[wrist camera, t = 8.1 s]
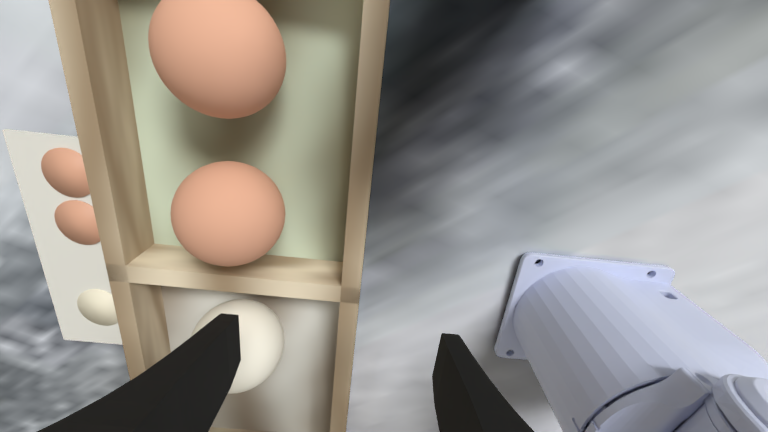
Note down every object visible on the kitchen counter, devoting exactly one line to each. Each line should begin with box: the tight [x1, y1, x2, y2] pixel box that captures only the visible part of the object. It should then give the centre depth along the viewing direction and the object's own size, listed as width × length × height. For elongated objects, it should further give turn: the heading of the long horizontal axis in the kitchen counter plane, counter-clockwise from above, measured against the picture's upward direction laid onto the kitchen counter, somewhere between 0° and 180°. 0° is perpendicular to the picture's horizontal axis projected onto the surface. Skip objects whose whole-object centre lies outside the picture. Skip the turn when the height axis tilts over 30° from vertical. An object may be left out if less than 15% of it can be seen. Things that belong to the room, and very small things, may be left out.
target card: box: [2, 129, 123, 345], centre depth 22 cm, size 6×14×1 cm, turn 174°
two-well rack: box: [49, 0, 390, 432], centre depth 20 cm, size 13×31×4 cm, turn 174°
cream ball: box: [191, 299, 285, 394], centre depth 20 cm, size 5×5×5 cm
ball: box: [148, 0, 286, 119], centre depth 14 cm, size 5×5×5 cm
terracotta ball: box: [170, 161, 285, 267], centre depth 17 cm, size 5×5×5 cm
